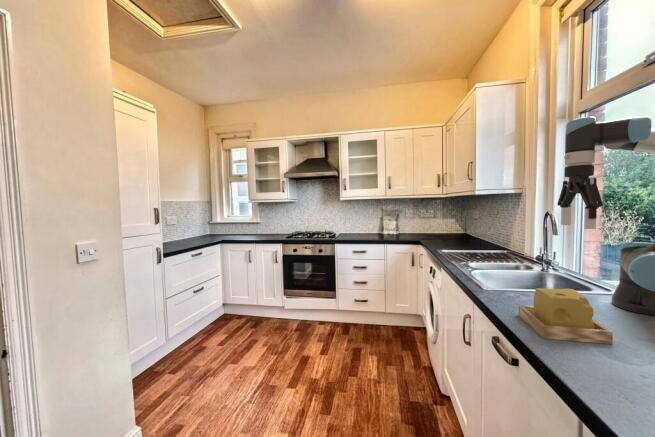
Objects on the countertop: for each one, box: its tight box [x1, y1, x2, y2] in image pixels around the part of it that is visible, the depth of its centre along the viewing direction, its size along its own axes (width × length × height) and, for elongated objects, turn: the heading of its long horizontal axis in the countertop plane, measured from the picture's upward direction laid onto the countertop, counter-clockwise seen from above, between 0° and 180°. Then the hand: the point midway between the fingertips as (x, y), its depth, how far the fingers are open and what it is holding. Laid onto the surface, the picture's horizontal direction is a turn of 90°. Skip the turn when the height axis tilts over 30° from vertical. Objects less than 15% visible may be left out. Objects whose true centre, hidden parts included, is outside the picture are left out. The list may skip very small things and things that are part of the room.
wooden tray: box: [518, 305, 614, 345], centre depth 83 cm, size 16×16×3 cm
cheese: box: [533, 287, 595, 329], centre depth 83 cm, size 10×11×10 cm
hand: (576, 227), depth 96 cm, fingers open, 13 cm apart
